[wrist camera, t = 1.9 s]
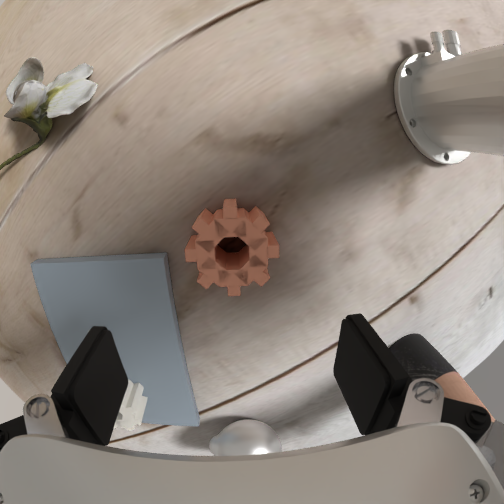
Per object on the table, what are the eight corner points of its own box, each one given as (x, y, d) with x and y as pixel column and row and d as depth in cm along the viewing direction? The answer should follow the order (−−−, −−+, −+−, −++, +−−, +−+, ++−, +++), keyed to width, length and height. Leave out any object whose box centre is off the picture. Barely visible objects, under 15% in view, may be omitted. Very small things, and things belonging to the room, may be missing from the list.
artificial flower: (-24, 170, 20) (-73, 156, 10) (107, 72, 22) (70, 18, 12) (-18, 231, 21) (-74, 230, 11) (122, 134, 22) (74, 84, 12)
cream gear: (84, 375, 27) (73, 396, 23) (123, 364, 27) (113, 388, 23) (119, 411, 30) (111, 432, 26) (158, 403, 29) (153, 427, 25)
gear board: (37, 259, 24) (3, 283, 17) (167, 252, 25) (147, 283, 18) (97, 408, 32) (85, 439, 25) (199, 418, 32) (197, 455, 26)
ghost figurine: (230, 398, 31) (232, 464, 22) (289, 416, 33) (302, 474, 24) (200, 429, 33) (196, 486, 24) (255, 444, 36) (260, 497, 26)
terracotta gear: (189, 201, 23) (180, 209, 19) (271, 197, 24) (279, 205, 20) (195, 277, 26) (190, 297, 22) (271, 273, 26) (278, 293, 22)
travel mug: (383, 383, 33) (442, 491, 14) (376, 349, 30) (454, 475, 12) (426, 357, 32) (496, 451, 14) (425, 321, 30) (516, 424, 11)
